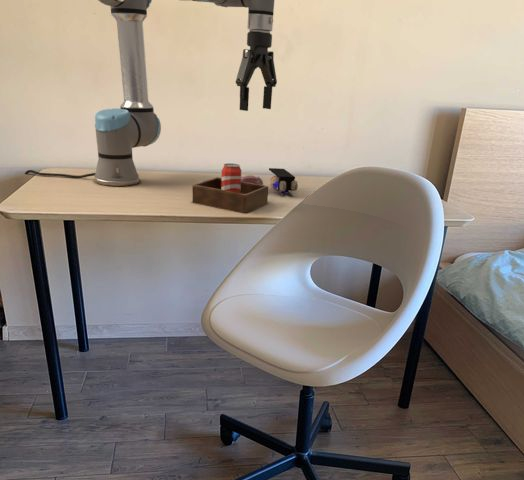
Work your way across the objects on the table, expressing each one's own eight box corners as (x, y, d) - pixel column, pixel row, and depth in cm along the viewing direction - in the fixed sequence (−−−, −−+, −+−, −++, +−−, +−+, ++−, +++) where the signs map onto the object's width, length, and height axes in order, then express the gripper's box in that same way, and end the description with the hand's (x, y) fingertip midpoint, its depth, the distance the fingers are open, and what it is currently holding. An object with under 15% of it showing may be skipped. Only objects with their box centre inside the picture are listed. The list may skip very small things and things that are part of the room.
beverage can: (233, 199, 172) (235, 162, 166) (243, 204, 167) (245, 166, 161) (217, 201, 169) (218, 163, 163) (227, 206, 164) (228, 167, 158)
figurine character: (297, 201, 182) (282, 186, 193) (300, 179, 177) (284, 166, 188) (280, 201, 180) (265, 186, 191) (283, 180, 175) (267, 166, 186)
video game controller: (235, 196, 183) (238, 180, 177) (233, 187, 185) (235, 171, 179) (262, 196, 185) (265, 180, 179) (259, 187, 188) (262, 171, 182)
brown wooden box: (192, 202, 165) (192, 184, 163) (217, 193, 178) (217, 177, 175) (245, 213, 158) (246, 195, 156) (267, 203, 171) (268, 186, 168)
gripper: (247, 29, 142) (243, 112, 153) (291, 35, 161) (285, 109, 171) (225, 28, 145) (223, 109, 156) (270, 34, 164) (266, 106, 175)
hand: (255, 109), depth 164 cm, fingers open, 13 cm apart
